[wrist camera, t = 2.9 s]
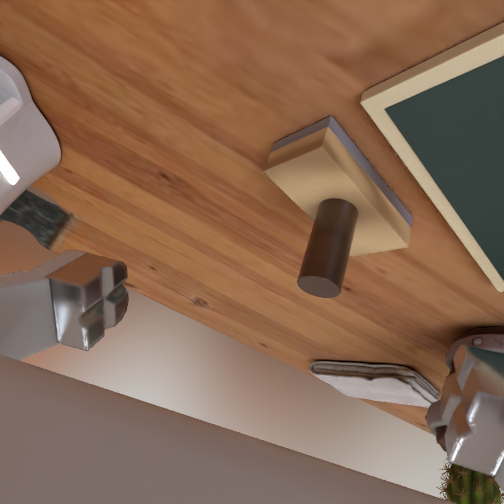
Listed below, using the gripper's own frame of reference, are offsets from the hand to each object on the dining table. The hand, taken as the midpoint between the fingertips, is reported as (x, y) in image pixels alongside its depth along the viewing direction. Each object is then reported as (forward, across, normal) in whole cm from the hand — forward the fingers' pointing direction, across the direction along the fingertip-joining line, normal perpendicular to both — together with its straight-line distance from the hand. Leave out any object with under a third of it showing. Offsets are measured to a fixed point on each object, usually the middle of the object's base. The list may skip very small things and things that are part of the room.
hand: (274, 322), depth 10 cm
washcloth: (+49, -9, +38) cm, 63 cm away
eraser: (+22, 0, +2) cm, 22 cm away
